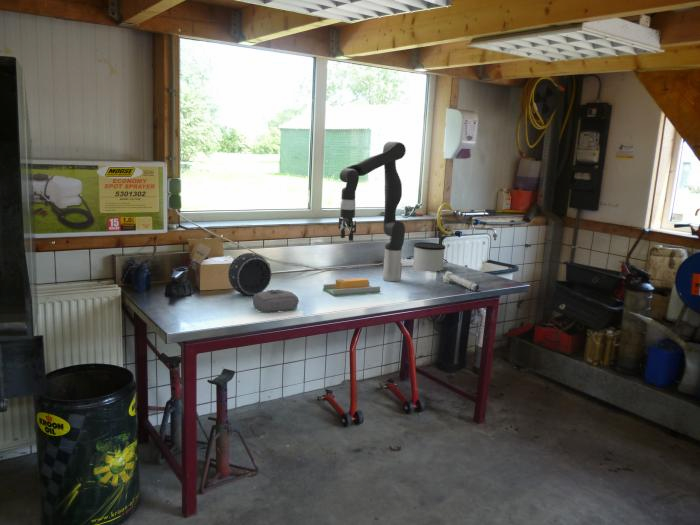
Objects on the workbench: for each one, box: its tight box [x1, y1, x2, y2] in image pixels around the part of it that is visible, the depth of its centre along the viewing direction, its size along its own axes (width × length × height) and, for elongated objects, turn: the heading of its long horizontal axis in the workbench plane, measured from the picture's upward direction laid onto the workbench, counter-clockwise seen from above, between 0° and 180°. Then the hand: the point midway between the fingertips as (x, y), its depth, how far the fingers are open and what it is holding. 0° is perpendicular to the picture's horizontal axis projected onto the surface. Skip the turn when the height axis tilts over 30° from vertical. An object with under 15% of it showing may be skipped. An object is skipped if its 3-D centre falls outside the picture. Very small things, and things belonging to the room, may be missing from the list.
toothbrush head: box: [442, 270, 480, 292], centre depth 325 cm, size 5×7×25 cm
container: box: [412, 241, 446, 272], centre depth 365 cm, size 19×19×15 cm
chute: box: [334, 277, 370, 289], centre depth 300 cm, size 16×6×5 cm, turn 118°
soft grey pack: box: [252, 289, 300, 313], centre depth 263 cm, size 15×8×20 cm
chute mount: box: [322, 281, 381, 297], centre depth 300 cm, size 26×13×3 cm, turn 118°
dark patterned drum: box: [227, 252, 273, 297], centre depth 282 cm, size 11×20×20 cm, turn 126°
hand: (346, 239), depth 308 cm, fingers open, 8 cm apart
